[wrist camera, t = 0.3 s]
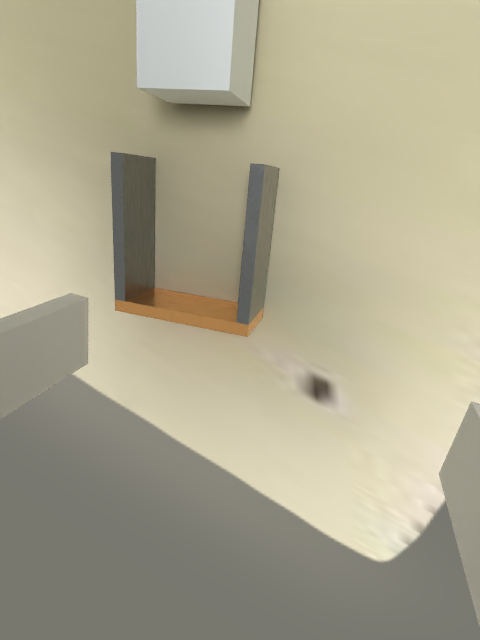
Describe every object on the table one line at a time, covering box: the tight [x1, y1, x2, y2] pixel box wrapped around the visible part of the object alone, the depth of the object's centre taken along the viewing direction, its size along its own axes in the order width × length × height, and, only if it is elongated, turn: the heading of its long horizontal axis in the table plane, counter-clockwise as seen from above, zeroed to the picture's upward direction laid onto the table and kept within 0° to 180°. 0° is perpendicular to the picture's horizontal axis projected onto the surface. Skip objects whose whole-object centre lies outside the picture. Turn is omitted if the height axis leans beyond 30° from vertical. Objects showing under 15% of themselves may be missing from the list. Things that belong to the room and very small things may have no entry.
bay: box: [111, 152, 279, 337], centre depth 38 cm, size 15×14×6 cm
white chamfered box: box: [136, 0, 259, 106], centre depth 30 cm, size 10×8×9 cm
